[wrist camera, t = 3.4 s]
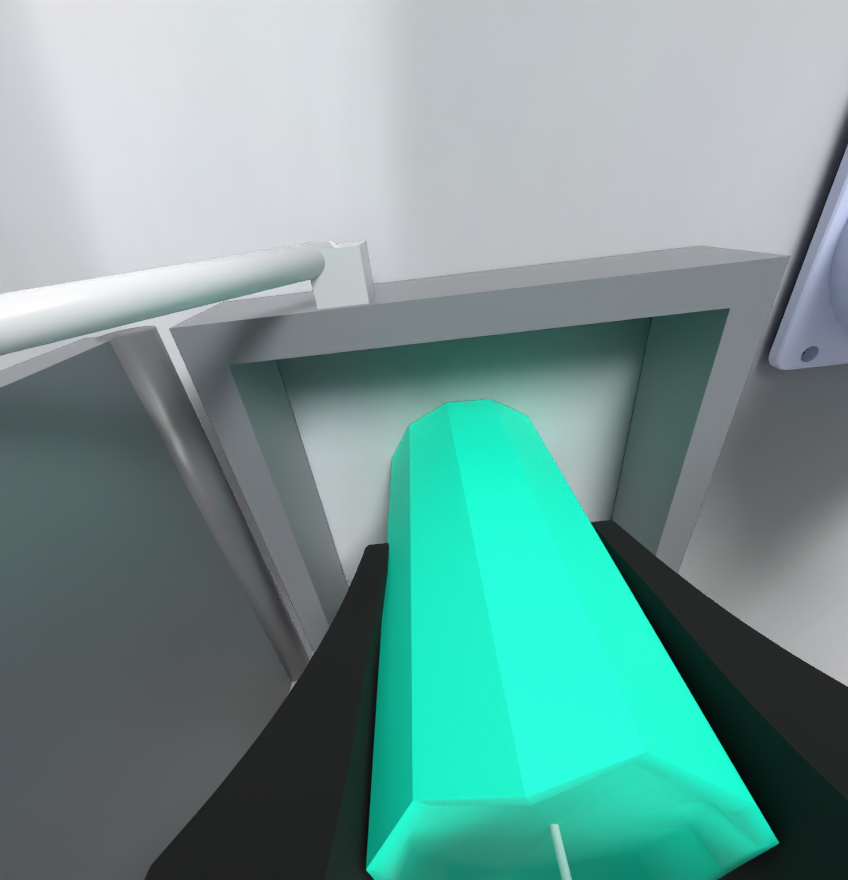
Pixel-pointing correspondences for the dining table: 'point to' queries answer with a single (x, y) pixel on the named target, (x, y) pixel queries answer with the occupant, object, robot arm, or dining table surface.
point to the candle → (530, 685)
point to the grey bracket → (258, 504)
